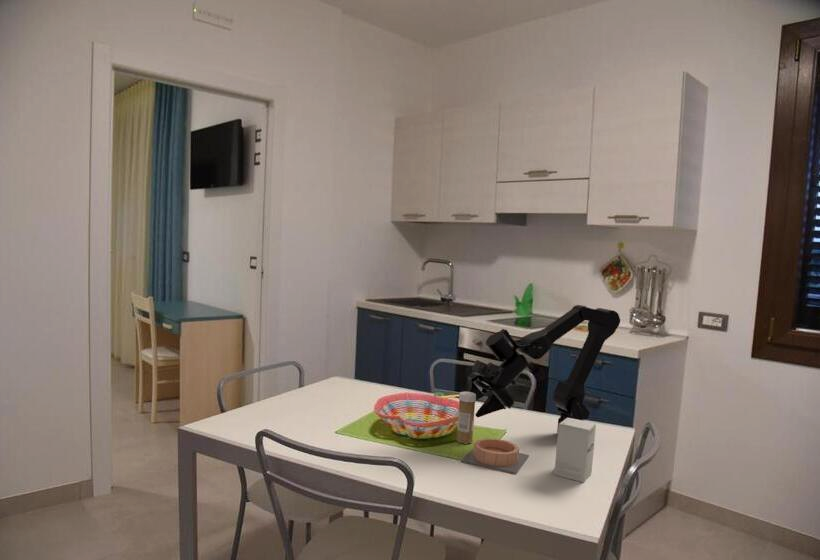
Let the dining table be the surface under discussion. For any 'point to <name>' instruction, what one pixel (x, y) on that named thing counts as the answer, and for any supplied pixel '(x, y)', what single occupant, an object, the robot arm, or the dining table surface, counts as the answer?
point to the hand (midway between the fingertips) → (469, 411)
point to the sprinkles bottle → (466, 417)
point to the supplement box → (575, 449)
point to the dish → (496, 455)
